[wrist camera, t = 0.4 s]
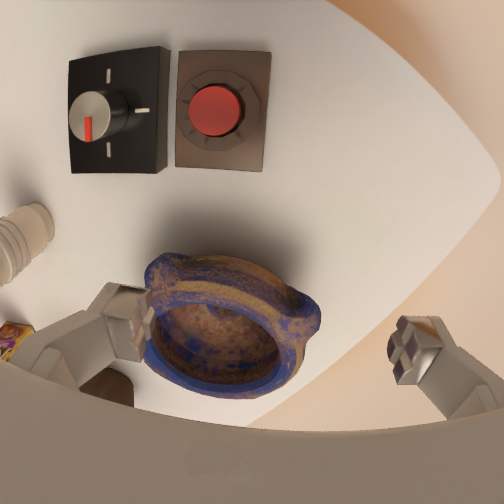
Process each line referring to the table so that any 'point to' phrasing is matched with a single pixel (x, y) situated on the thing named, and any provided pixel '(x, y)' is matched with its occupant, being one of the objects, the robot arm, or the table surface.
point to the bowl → (226, 325)
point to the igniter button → (214, 110)
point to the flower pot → (110, 387)
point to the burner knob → (98, 114)
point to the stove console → (139, 111)
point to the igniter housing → (252, 102)
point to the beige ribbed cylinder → (23, 239)
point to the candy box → (12, 338)
